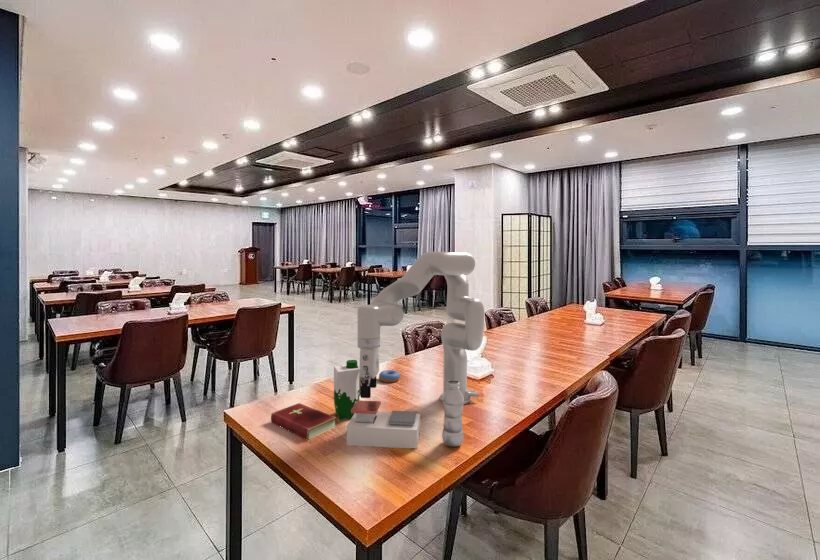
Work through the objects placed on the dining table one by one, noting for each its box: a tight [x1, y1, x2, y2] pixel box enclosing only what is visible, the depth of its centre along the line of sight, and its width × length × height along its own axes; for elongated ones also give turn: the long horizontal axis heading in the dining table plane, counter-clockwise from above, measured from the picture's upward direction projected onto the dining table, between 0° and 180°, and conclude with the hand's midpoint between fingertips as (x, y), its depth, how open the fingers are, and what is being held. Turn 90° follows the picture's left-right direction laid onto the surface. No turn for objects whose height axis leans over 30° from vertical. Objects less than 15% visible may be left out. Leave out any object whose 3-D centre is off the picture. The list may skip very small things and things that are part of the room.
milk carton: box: [333, 359, 360, 421], centre depth 142 cm, size 9×9×20 cm
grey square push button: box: [389, 410, 418, 425], centre depth 124 cm, size 8×8×6 cm
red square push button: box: [351, 399, 382, 423], centre depth 125 cm, size 8×8×6 cm
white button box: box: [346, 411, 421, 450], centre depth 125 cm, size 22×12×6 cm, turn 84°
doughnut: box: [378, 369, 401, 384], centre depth 182 cm, size 10×10×5 cm
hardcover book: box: [270, 402, 337, 441], centre depth 135 cm, size 12×21×4 cm, turn 52°
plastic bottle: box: [441, 380, 465, 448], centre depth 120 cm, size 6×7×20 cm
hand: (368, 392), depth 130 cm, fingers open, 9 cm apart
